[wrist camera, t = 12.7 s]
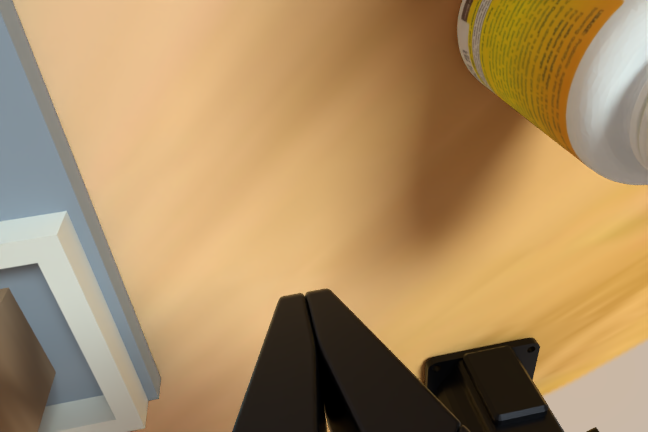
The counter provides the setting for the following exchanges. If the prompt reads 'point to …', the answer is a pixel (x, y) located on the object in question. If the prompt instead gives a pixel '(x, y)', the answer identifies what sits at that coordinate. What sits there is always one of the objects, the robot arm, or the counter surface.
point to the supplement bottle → (568, 73)
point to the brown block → (21, 370)
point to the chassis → (64, 260)
